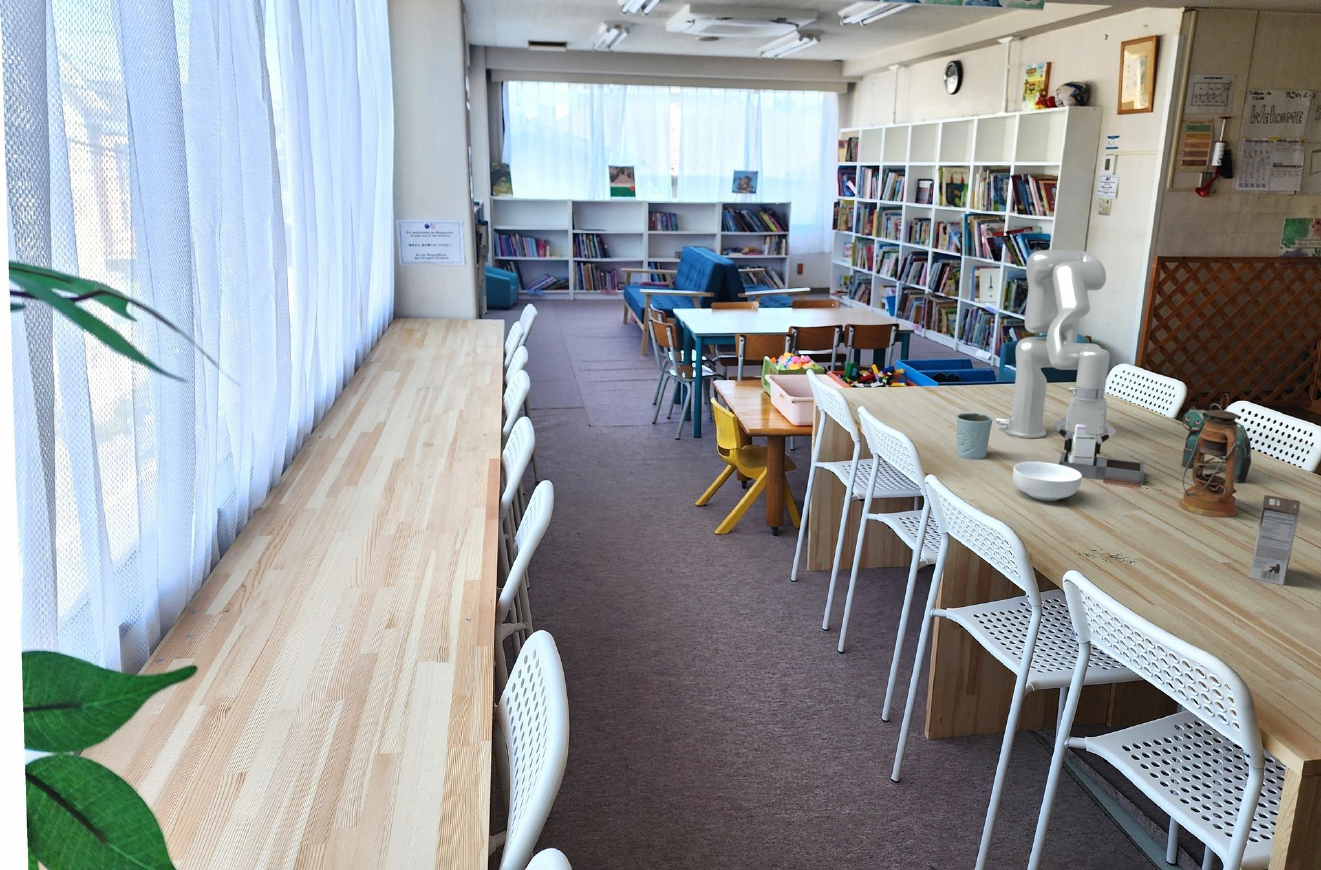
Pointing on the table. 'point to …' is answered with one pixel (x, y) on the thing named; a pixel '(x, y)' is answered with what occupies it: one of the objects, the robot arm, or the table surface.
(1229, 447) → the lantern
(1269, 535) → the coffee box
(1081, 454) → the syrup box
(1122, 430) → the table surface
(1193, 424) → the ceramic cat
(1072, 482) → the cereal bowl
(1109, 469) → the holder
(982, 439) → the embossed ceramic cup
